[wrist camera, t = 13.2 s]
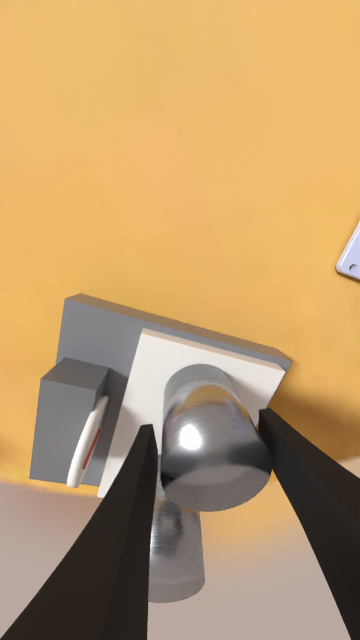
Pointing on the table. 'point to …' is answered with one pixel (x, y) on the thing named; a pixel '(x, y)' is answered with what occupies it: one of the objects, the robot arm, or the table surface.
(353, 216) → the table surface
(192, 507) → the cylinder
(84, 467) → the scale
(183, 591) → the cylinder
